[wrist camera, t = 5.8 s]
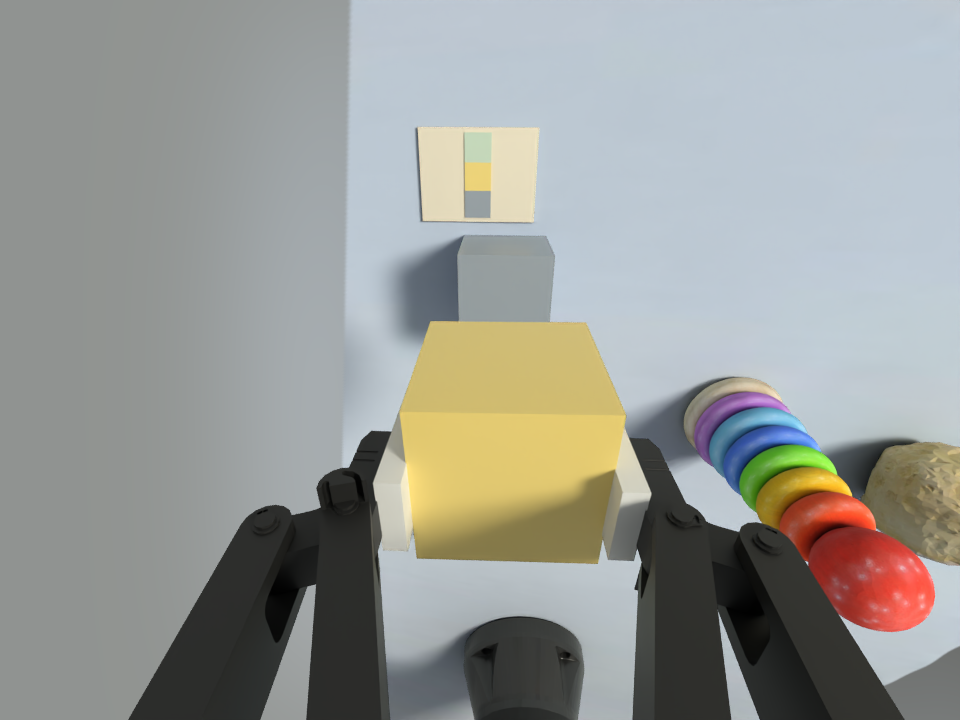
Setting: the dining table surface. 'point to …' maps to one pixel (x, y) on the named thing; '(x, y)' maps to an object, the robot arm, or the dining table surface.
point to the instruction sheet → (478, 173)
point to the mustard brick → (510, 442)
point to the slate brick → (505, 278)
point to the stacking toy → (808, 504)
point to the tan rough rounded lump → (918, 498)
